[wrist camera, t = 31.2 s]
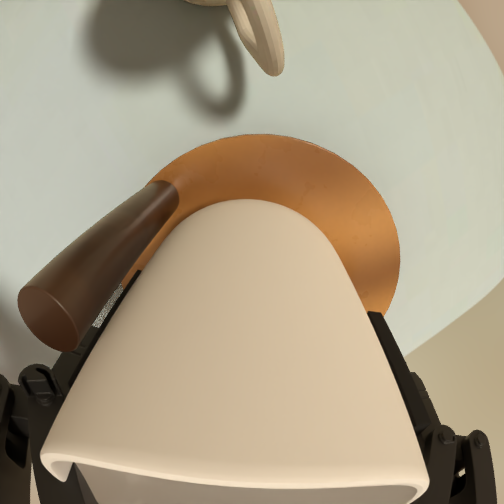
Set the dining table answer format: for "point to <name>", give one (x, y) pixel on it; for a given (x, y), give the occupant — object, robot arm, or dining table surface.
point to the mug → (256, 30)
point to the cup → (239, 377)
